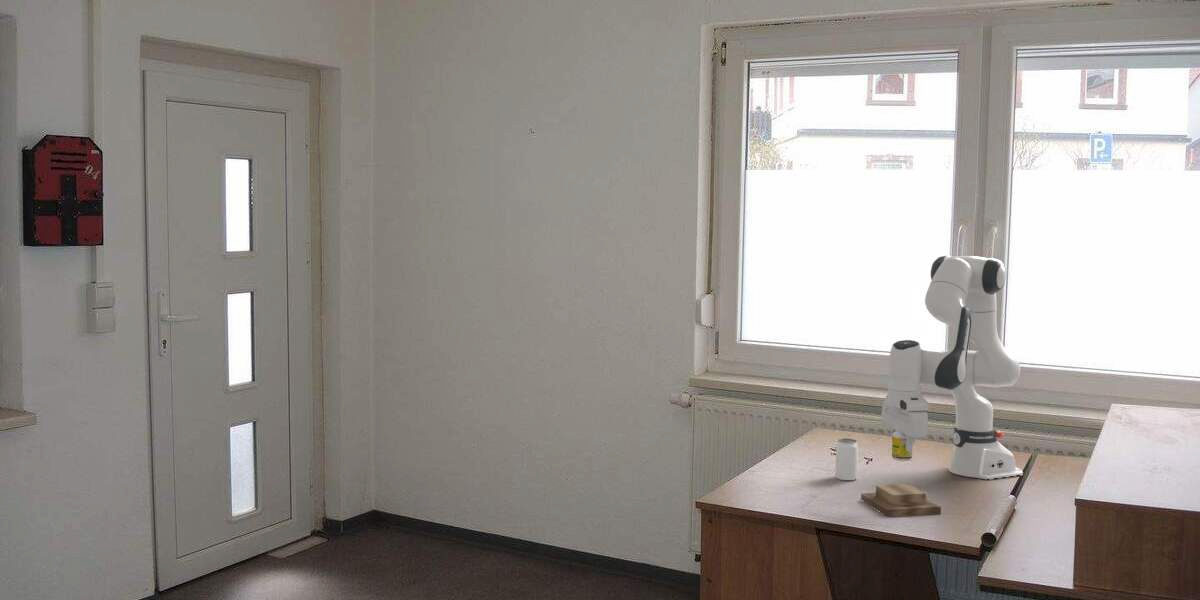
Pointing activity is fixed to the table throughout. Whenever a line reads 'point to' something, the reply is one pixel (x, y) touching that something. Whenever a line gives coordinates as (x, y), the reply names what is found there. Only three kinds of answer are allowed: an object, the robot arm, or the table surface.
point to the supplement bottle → (900, 446)
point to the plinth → (900, 509)
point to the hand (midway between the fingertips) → (902, 447)
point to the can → (846, 459)
